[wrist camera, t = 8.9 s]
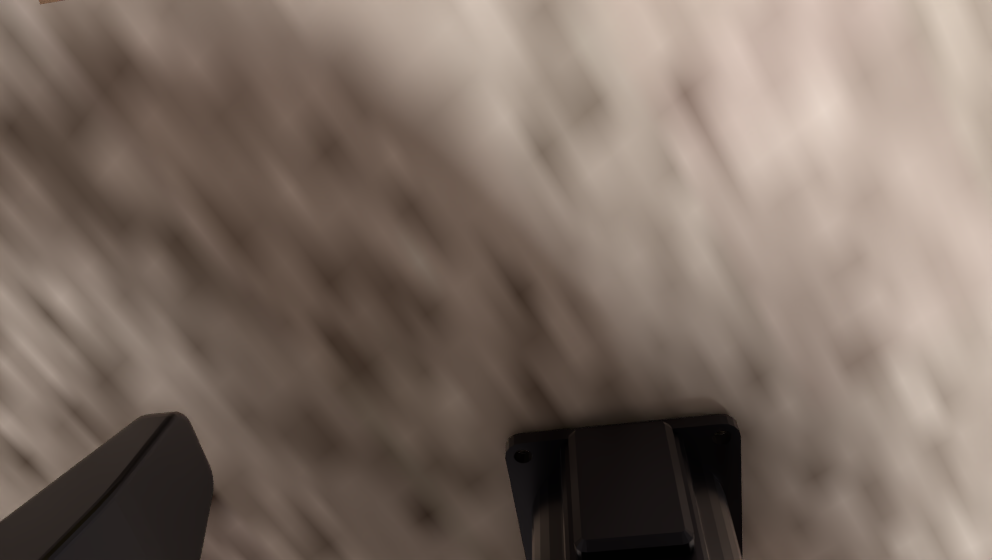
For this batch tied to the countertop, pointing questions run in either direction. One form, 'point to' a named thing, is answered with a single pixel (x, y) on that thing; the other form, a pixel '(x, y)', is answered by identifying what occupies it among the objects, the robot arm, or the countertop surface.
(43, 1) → the display plinth
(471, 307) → the countertop surface
